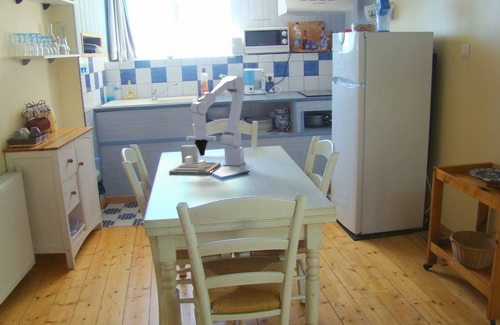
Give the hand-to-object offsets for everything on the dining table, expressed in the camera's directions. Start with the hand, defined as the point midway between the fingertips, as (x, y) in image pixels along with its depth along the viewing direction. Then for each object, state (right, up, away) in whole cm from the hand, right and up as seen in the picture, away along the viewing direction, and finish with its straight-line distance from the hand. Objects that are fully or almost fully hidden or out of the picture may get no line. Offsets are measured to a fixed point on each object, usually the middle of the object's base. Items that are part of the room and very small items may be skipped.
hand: (202, 155), depth 219 cm
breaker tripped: (0, -6, +2) cm, 7 cm away
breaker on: (-8, -4, +12) cm, 15 cm away
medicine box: (-9, -3, +26) cm, 28 cm away
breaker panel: (-4, -7, +7) cm, 11 cm away
